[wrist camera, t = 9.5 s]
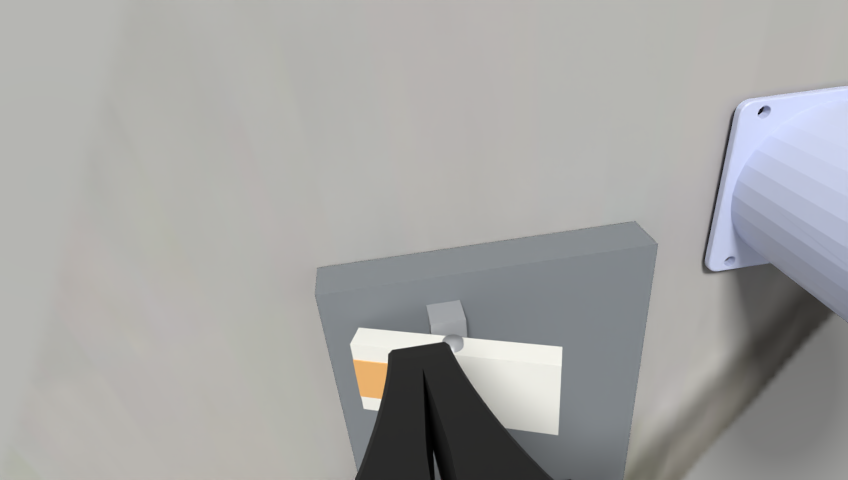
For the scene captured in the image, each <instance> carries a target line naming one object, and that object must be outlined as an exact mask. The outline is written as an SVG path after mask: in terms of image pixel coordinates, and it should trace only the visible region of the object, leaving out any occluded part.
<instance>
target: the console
mask: <svg viewBox="0 0 848 480" xmlns="http://www.w3.org/2000/svg"><path fill="white" fill-rule="evenodd" d="M657 247H658V243H657V242H656V241H655V240H654V239H652V238H651V237H650V236H649V235H648V234H647V233H646V232H645V231H644V230H643V229H642V228H641V227H640V226H639V225H638V224H637V223H636V222H635V221H634V222H627V223H621V224H614V225H607V226H600V227H593V228H586V229H580V230H573V231H566V232H559V233H552V234H545V235H539V236H532V237H525V238H518V239H511V240H504V241H498V242H491V243H484V244H477V245H470V246H464V247H457V248H450V249H443V250H436V251H429V252H423V253H416V254H409V255H402V256H395V257H388V258H382V259H375V260H368V261H361V262H354V263H347V264H341V265H334V266H327V267H320V268H317V277H316V289H315V297H316V302H317V306H318V310H319V314H320V318H321V322H322V326H323V331H324V335H325V339H326V343H327V347H328V351H329V356H330V360H331V364H332V368H333V372H334V376H335V380H336V385H337V389H338V393H339V397H340V401H341V405H342V409H343V414H344V418H345V422H346V426H347V430H348V434H349V439H350V443H351V447H352V451H353V455H354V459H355V463H356V468H357V472H358V471H359V468H360V465H361V463H362V460H363V458H364V455H365V452H366V449H367V446H368V443H369V440H370V437H371V434H372V431H373V428H374V425H375V422H376V418H377V414H378V411H376V410H368V409H364V408H363V403H362V398H361V396H360V392H359V387H358V382H357V378H356V373H355V368H354V363H353V356H352V351H351V346H350V343H351V341H352V339H353V338H354V336H355V334H356V332H357V330H358V328H368V329H379V330H389V331H400V332H411V333H421V334H432V335H442V336H448V335H452V334H455V335H459V336H461V337H464V338H474V339H485V340H495V341H506V342H517V343H527V344H538V345H548V346H559V347H562V368H561V389H560V409H559V430H558V435H553V434H545V433H538V432H531V431H523V430H516V429H508V428H505V429H506V430H507V431H508V432H509V433H510V435H511V436H512V437H513V438H514V439H515V440H516V441H517V443H518V444H519V445H520V446H521V447H522V448H523V449H524V450H525V451H526V452H527V454H528V455H529V456H530V457H531V458H532V459H533V460H534V461H535V462H536V463H537V464H538V465H539V466H540V467H541V468H542V469H543V470H544V471H545V472H546V473H547V474H548V475H549V476H550V477H552V478H553V479H554V480H623V477H624V471H625V464H626V457H627V450H628V444H629V437H630V430H631V423H632V416H633V410H634V403H635V396H636V389H637V383H638V376H639V369H640V362H641V356H642V349H643V342H644V335H645V328H646V322H647V315H648V308H649V301H650V295H651V288H652V281H653V274H654V268H655V261H656V254H657ZM433 455H434V451H433ZM434 469H435V480H441V478H440V474H439V471H438V467H437V463H436V459H435V455H434Z"/></svg>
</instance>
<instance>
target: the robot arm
mask: <svg viewBox="0 0 848 480" xmlns="http://www.w3.org/2000/svg"><path fill="white" fill-rule="evenodd" d="M763 106H764V109H763V112H762V113H761V114H760V115H758V112H759V109H761V108H762V107H763ZM728 257H729V259H728V260H726V259H727V258H728ZM725 260H726V261H725ZM768 263H771V264H773V265H774V266H775V267H777V268H778V269H779V270H780V271H782V272H783V273H784V274H786V275H787V276H788V277H790V278H791V279H792V280H793V281H795V282H796V283H797V284H799V285H800V286H801V287H802V288H804V289H805V290H806V291H808V292H809V293H810V294H812V295H813V296H814V297H815V298H817V299H818V300H819V301H821V302H822V303H823V304H824V305H826V306H827V307H828V308H830V309H831V310H832V311H833V312H835V313H836V314H837V315H839V316H840V317H841V318H843V319H844V320H845V321H846V322H848V86H841V87H834V88H826V89H819V90H811V91H804V92H796V93H789V94H781V95H774V96H766V97H759V98H751V99H747V100H744V101H743V102H741V103H740V104H739V105H738V107H737V108H736V111H735V113H734V118H733V123H732V128H731V133H730V138H729V143H728V148H727V153H726V158H725V163H724V168H723V173H722V178H721V183H720V187H719V192H718V197H717V202H716V207H715V212H714V217H713V222H712V227H711V232H710V237H709V242H708V247H707V252H706V257H705V265H706V266H707V267H708V268H709V269H710V270H712V271H722V270H729V269H735V268H742V267H748V266H755V265H761V264H768ZM433 451H434V455H435V459H436V463H437V467H438V471H439V474H440V478H441V480H554V479H553V478H552V477H550V476H549V475H548V474H547V473H546V472H545V471H544V470H543V469H542V468H541V467H540V466H539V465H538V464H537V463H536V462H535V461H534V460H533V459H532V458H531V457H530V456H529V455H528V454H527V452H526V451H525V450H524V449H523V448H522V447H521V446H520V445H519V444H518V443H517V441H516V440H515V439H514V438H513V437H512V436H511V435H510V433H509V432H508V431H507V430H506V429H505V427H504V426H503V425H502V424H501V423H500V422H499V420H498V419H497V418H496V416H495V415H494V414H493V413H492V411H491V410H490V409H489V407H488V406H487V405H486V403H485V402H484V401H483V399H482V398H481V397H480V395H479V394H478V393H477V391H476V390H475V388H474V387H473V385H472V384H471V382H470V381H469V379H468V378H467V376H466V375H465V373H464V371H463V370H462V368H461V366H460V365H459V363H458V361H457V359H456V358H455V356H454V354H453V352H452V350H451V347H450V345H449V344H447V343H446V342H439V343H432V344H426V345H420V346H413V347H407V348H401V349H394V350H392V351H391V352H390V353H389V354H388V366H387V374H386V380H385V385H384V390H383V395H382V399H381V403H380V407H379V410H378V414H377V418H376V422H375V425H374V428H373V431H372V434H371V437H370V440H369V443H368V446H367V449H366V452H365V455H364V458H363V460H362V463H361V465H360V468H359V471H358V473H357V476H356V478H355V480H435V469H434V455H433Z"/></svg>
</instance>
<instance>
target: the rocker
mask: <svg viewBox="0 0 848 480" xmlns="http://www.w3.org/2000/svg"><path fill="white" fill-rule="evenodd" d="M439 342H446V343H447V344H449V345H450V347H451V350H452V352H453V354H454V356H455V358H456V359H457V361H458V363H459V365H460V366H461V368H462V370H463V371H464V373H465V375H466V376H467V378H468V379H469V381H470V382H471V384H472V385H473V387H474V388H475V390H476V391H477V393H478V394H479V395H480V397H481V398H482V399H483V401H484V402H485V403H486V405H487V406H488V407H489V409H490V410H491V411H492V413H493V414H494V415H495V416H496V418H497V419H498V420H499V422H500V423H501V424H502V425H503V426H504V427H505V428H508V429H516V430H523V431H531V432H538V433H545V434H553V435H558V430H559V409H560V389H561V368H562V347H559V346H548V345H538V344H527V343H517V342H506V341H495V340H485V339H474V338H464V337H461V336H459V335H455V334H452V335H448V336H442V335H432V334H421V333H411V332H400V331H389V330H379V329H368V328H358V330H357V332H356V334H355V336H354V338H353V339H352V341H351V343H350V346H351V351H352V356H353V363H354V368H355V373H356V378H357V382H358V387H359V392H360V396H361V398H362V403H363V408H364V409H368V410H376V411H378V410H379V407H380V403H381V399H382V395H383V390H384V385H385V380H386V374H387V366H388V354H389V353H390V352H391V351H392V350H394V349H401V348H407V347H413V346H420V345H426V344H432V343H439Z"/></svg>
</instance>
